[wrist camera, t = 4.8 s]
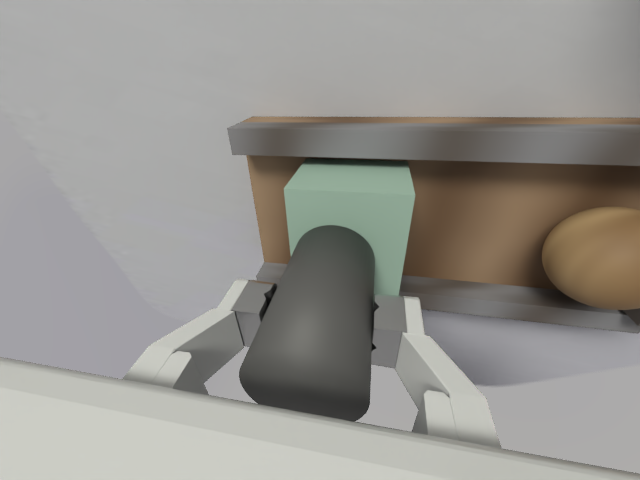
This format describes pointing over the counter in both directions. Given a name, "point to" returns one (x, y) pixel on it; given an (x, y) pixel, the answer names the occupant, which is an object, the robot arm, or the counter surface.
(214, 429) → the robot arm
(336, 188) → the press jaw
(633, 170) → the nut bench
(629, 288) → the walnut
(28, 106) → the counter surface
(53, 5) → the counter surface
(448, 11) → the counter surface
